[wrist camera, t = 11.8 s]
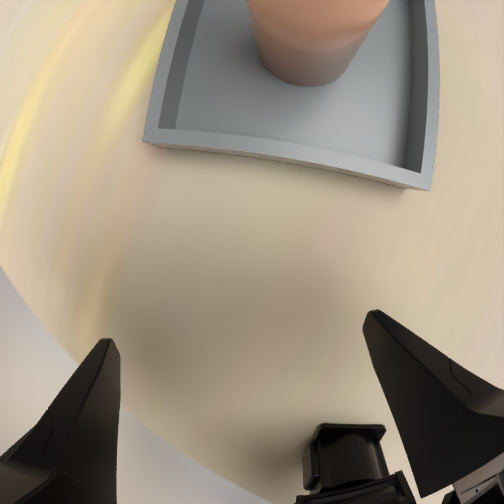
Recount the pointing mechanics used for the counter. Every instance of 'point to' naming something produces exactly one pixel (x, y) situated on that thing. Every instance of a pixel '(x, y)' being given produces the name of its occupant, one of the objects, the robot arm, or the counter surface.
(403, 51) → the tray
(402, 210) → the counter surface
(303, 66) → the canister
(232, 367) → the counter surface
